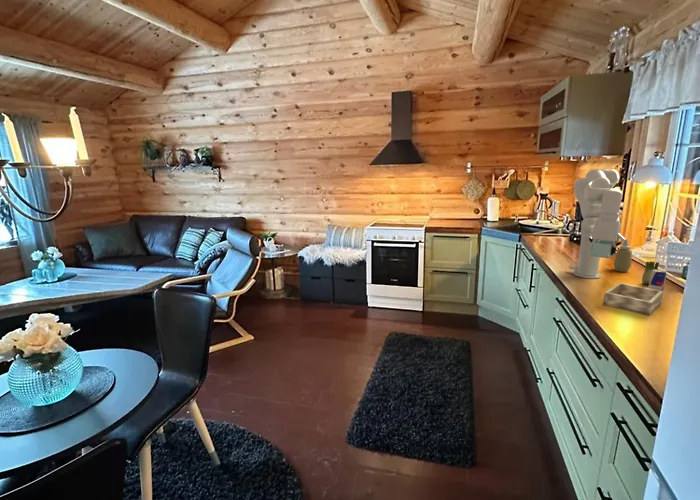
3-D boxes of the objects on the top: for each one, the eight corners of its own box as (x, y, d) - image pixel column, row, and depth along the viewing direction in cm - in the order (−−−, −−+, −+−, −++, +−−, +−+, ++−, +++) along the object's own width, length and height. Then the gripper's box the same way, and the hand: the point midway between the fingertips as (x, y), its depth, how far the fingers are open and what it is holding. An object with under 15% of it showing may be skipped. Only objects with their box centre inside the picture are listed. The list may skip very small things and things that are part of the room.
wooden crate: (602, 304, 165) (604, 292, 164) (617, 293, 178) (618, 282, 177) (649, 315, 153) (651, 302, 152) (661, 303, 166) (663, 291, 165)
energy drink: (658, 298, 172) (663, 273, 169) (644, 294, 177) (649, 270, 174) (664, 296, 174) (669, 271, 172) (650, 293, 179) (655, 268, 176)
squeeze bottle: (630, 273, 209) (636, 241, 205) (612, 271, 213) (617, 240, 209) (629, 270, 216) (634, 239, 212) (612, 268, 220) (617, 237, 216)
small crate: (590, 255, 182) (592, 242, 181) (597, 252, 188) (599, 239, 187) (607, 258, 177) (609, 244, 175) (614, 254, 183) (616, 241, 182)
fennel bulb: (655, 284, 192) (659, 261, 189) (655, 286, 188) (660, 263, 185) (640, 282, 195) (644, 259, 192) (641, 284, 191) (645, 261, 188)
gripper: (585, 215, 182) (580, 251, 186) (628, 219, 170) (622, 258, 174) (590, 213, 187) (585, 249, 191) (633, 217, 174) (626, 255, 179)
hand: (603, 253), depth 182 cm, fingers closed on small crate, 7 cm apart
